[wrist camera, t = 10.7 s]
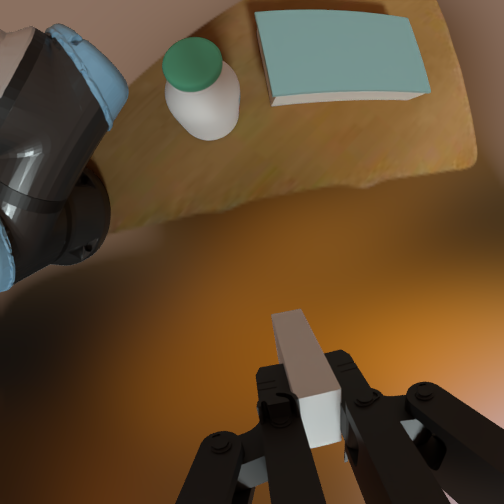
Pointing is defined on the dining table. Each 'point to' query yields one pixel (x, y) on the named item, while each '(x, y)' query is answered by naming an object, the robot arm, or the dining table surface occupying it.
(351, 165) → the dining table surface
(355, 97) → the white shallow box
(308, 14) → the cover
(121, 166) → the dining table surface
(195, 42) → the milk bottle
